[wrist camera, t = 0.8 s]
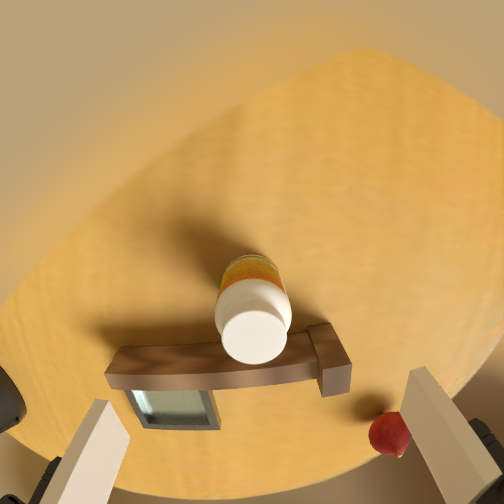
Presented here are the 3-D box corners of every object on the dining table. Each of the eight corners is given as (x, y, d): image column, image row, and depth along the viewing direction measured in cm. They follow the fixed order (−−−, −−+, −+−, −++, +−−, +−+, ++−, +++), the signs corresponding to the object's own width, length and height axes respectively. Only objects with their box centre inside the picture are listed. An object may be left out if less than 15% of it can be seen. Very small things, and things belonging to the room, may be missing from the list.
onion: (399, 393, 31) (423, 434, 23) (401, 416, 32) (422, 454, 24) (359, 411, 31) (377, 456, 24) (364, 433, 33) (381, 474, 25)
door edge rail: (128, 365, 29) (106, 406, 22) (119, 342, 28) (93, 380, 21) (330, 348, 28) (349, 392, 22) (330, 322, 28) (351, 363, 21)
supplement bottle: (212, 265, 26) (194, 315, 16) (269, 244, 25) (282, 285, 16) (234, 316, 27) (229, 382, 18) (289, 297, 27) (308, 358, 17)
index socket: (146, 420, 31) (143, 428, 30) (119, 361, 29) (114, 368, 27) (221, 421, 31) (220, 429, 30) (203, 359, 28) (201, 368, 27)
